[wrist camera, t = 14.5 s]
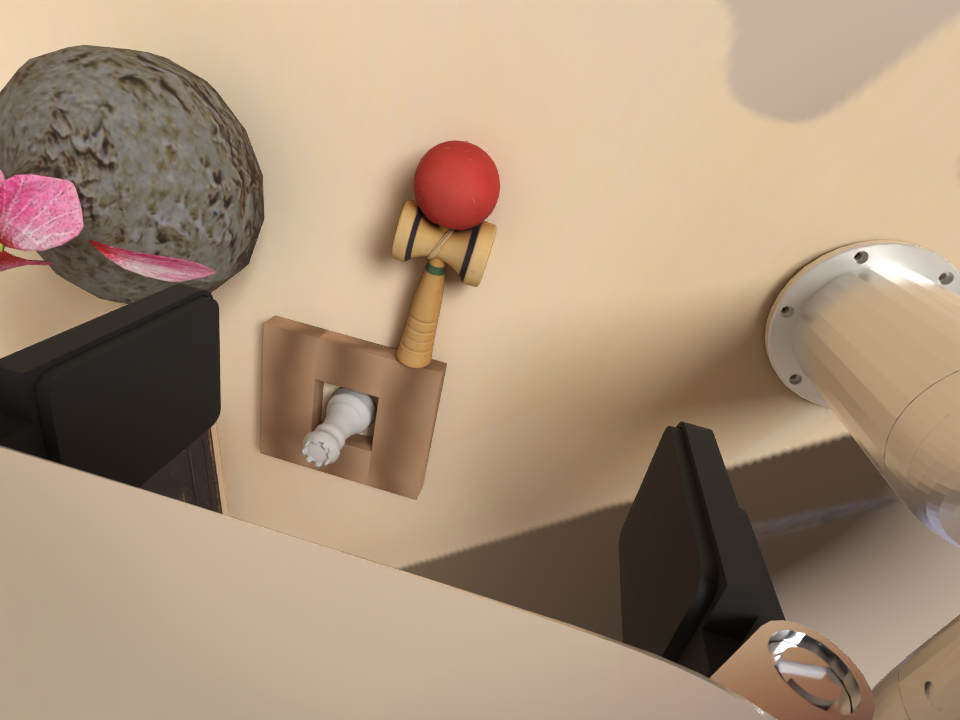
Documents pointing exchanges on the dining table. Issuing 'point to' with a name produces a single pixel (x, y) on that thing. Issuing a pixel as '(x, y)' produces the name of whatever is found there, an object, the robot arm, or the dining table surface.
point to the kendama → (445, 234)
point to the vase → (125, 174)
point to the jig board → (357, 366)
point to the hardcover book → (194, 475)
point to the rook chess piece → (338, 426)
